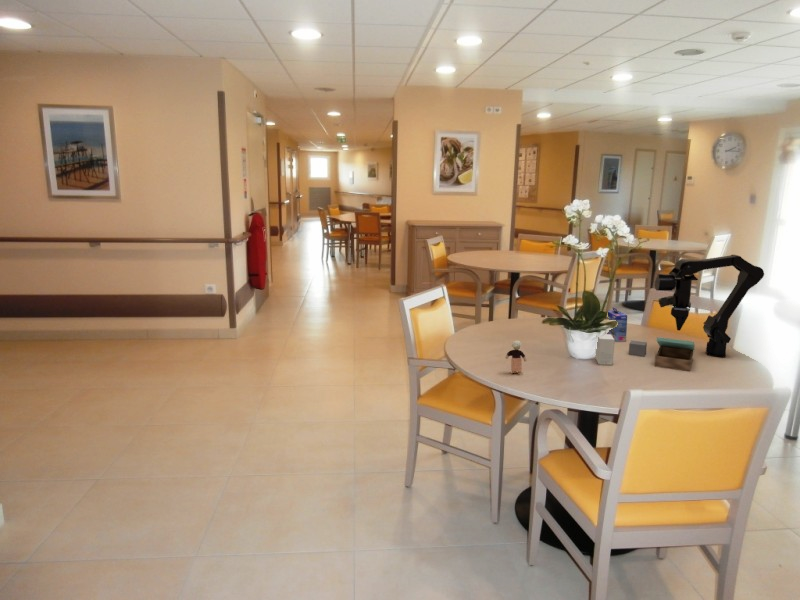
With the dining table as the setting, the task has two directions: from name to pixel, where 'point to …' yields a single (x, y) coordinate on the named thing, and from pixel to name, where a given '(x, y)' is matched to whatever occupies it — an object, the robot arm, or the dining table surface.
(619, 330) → the ink cartridge box
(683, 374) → the dining table surface
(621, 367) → the dining table surface
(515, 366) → the grandmother figurine
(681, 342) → the lid
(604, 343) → the small box
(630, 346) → the block
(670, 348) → the storage box
